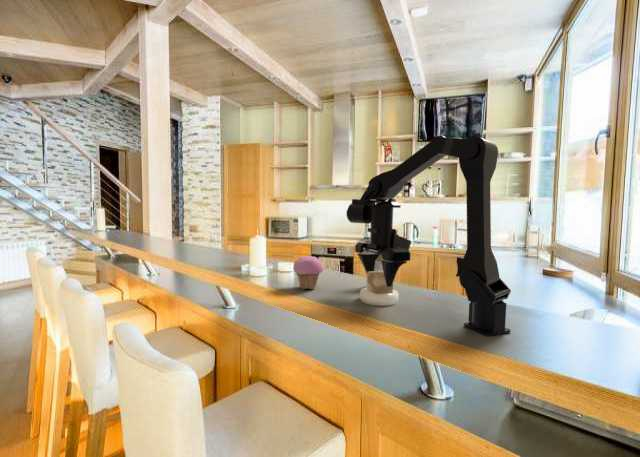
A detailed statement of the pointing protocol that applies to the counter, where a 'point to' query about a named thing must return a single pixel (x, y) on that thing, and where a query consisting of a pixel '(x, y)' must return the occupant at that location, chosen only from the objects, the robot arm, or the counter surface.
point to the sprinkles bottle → (378, 263)
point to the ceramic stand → (379, 298)
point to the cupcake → (308, 271)
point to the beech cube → (377, 283)
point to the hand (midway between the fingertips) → (379, 282)
